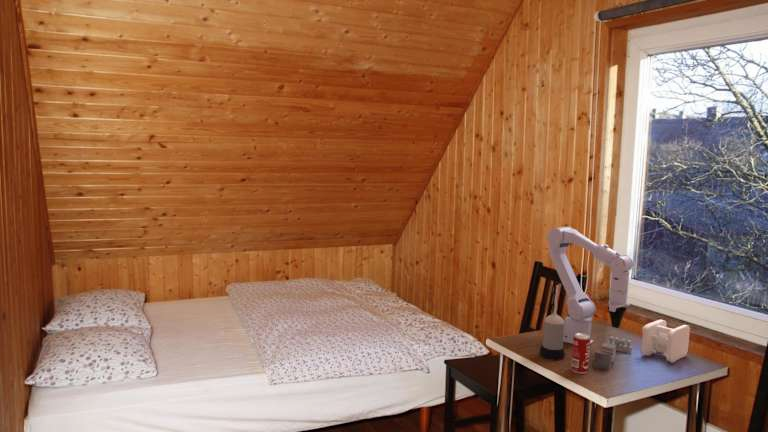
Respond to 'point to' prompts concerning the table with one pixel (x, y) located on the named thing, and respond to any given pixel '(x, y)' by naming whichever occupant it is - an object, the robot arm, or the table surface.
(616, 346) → the dark grey rod
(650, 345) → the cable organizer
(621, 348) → the cable comb
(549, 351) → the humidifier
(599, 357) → the block
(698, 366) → the table surface
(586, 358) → the soda can
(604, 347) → the grey slotted cube
